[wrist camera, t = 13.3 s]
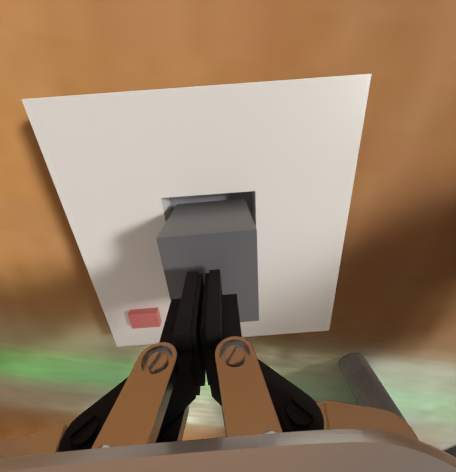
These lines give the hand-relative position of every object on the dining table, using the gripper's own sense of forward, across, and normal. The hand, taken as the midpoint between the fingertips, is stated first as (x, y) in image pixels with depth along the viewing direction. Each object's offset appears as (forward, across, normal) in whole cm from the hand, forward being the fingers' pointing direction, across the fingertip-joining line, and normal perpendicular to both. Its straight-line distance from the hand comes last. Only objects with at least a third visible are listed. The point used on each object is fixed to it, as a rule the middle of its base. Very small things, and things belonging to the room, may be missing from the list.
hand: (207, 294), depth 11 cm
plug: (+8, 0, 0) cm, 8 cm away
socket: (+9, 0, 0) cm, 9 cm away
